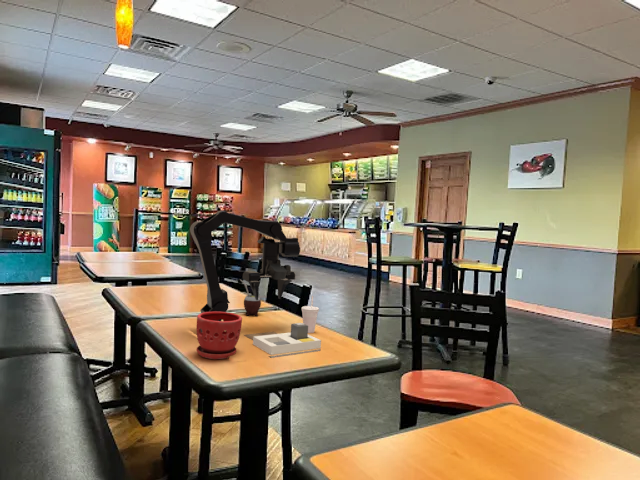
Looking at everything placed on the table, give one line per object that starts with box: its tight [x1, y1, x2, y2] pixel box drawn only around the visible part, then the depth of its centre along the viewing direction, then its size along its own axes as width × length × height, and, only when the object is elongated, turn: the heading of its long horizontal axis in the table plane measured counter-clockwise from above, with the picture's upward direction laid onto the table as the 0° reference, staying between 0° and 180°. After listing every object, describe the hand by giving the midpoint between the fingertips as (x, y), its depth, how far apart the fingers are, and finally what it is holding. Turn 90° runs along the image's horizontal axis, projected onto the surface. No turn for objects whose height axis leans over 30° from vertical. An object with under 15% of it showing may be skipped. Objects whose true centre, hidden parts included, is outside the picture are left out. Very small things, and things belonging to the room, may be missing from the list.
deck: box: [243, 331, 279, 341], centre depth 161 cm, size 12×9×1 cm
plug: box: [290, 322, 309, 340], centre depth 153 cm, size 4×4×7 cm
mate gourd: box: [239, 279, 262, 317], centre depth 196 cm, size 8×8×15 cm
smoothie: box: [301, 295, 320, 334], centre depth 171 cm, size 6×6×14 cm
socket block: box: [252, 331, 322, 359], centre depth 151 cm, size 18×12×4 cm, turn 125°
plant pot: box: [196, 311, 243, 360], centre depth 141 cm, size 13×13×12 cm
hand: (268, 299), depth 170 cm, fingers open, 9 cm apart
